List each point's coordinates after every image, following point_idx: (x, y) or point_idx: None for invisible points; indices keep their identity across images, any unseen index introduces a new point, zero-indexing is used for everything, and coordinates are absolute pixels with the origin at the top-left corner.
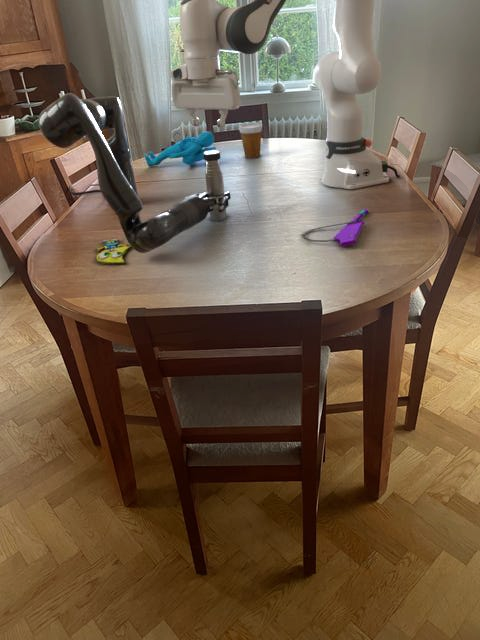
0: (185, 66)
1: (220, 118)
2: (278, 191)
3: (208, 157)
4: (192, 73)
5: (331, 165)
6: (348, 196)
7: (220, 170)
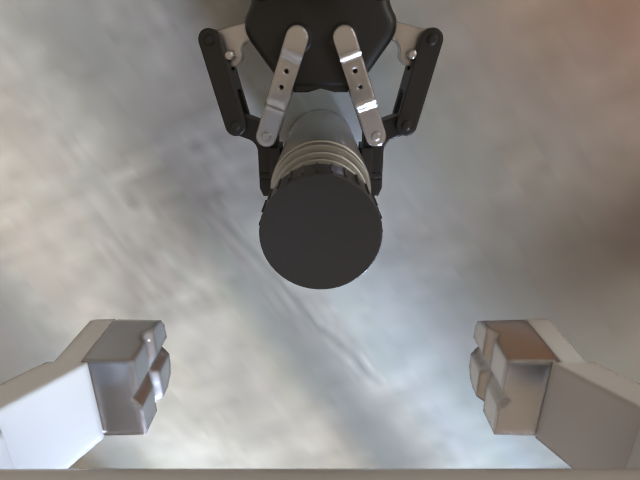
0: None
1: (41, 379)
2: (261, 422)
3: (310, 170)
4: None
5: None
6: None
7: None
